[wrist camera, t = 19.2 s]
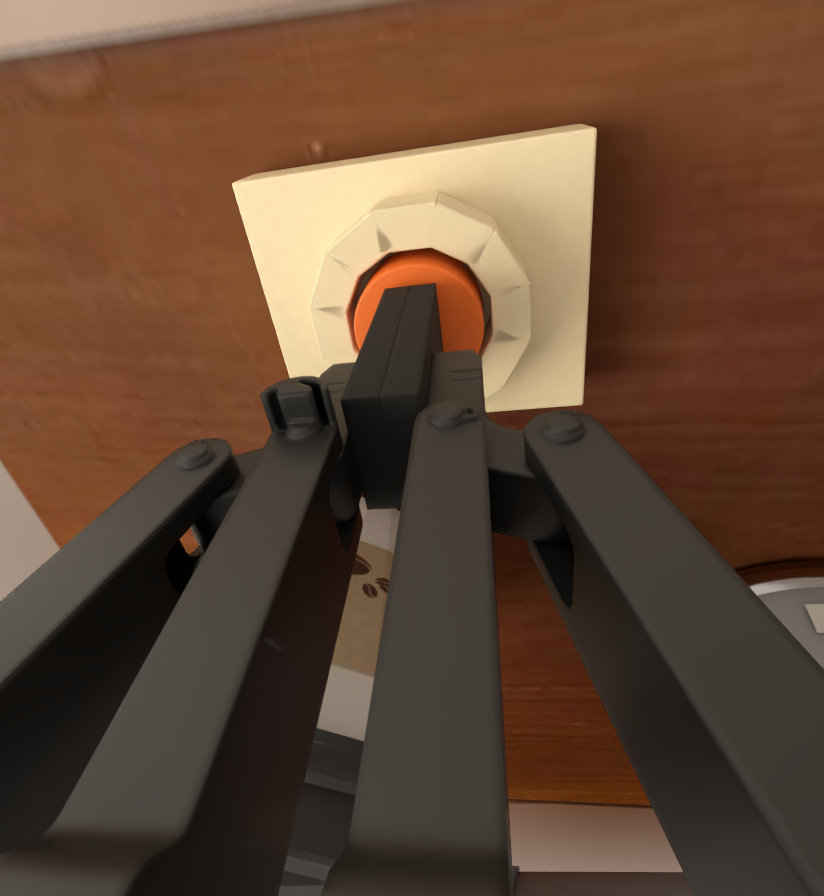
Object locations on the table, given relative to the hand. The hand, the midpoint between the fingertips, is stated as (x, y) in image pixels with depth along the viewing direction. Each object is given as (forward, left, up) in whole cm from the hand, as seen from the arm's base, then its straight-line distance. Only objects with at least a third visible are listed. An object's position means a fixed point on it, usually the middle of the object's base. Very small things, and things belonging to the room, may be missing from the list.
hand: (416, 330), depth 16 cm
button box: (0, 0, -5) cm, 5 cm away
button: (0, 0, -2) cm, 2 cm away
